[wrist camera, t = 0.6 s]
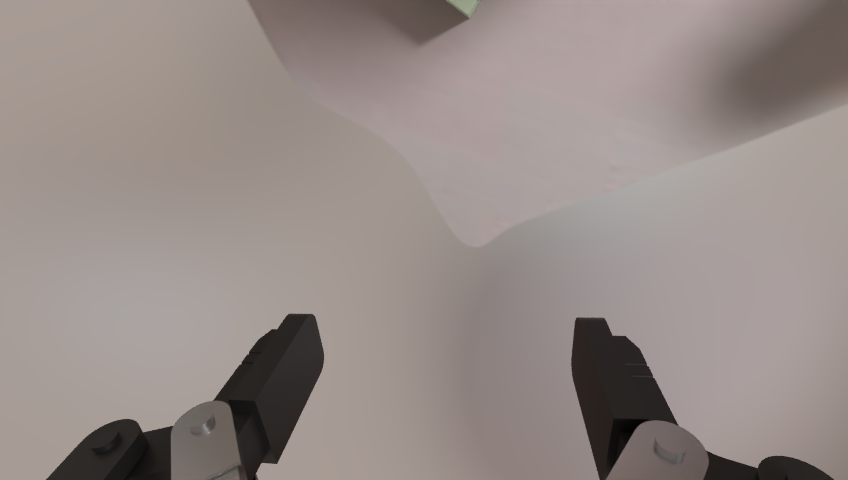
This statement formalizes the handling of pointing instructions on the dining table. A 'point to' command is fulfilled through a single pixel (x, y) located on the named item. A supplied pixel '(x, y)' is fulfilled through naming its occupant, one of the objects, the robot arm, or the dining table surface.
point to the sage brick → (465, 6)
